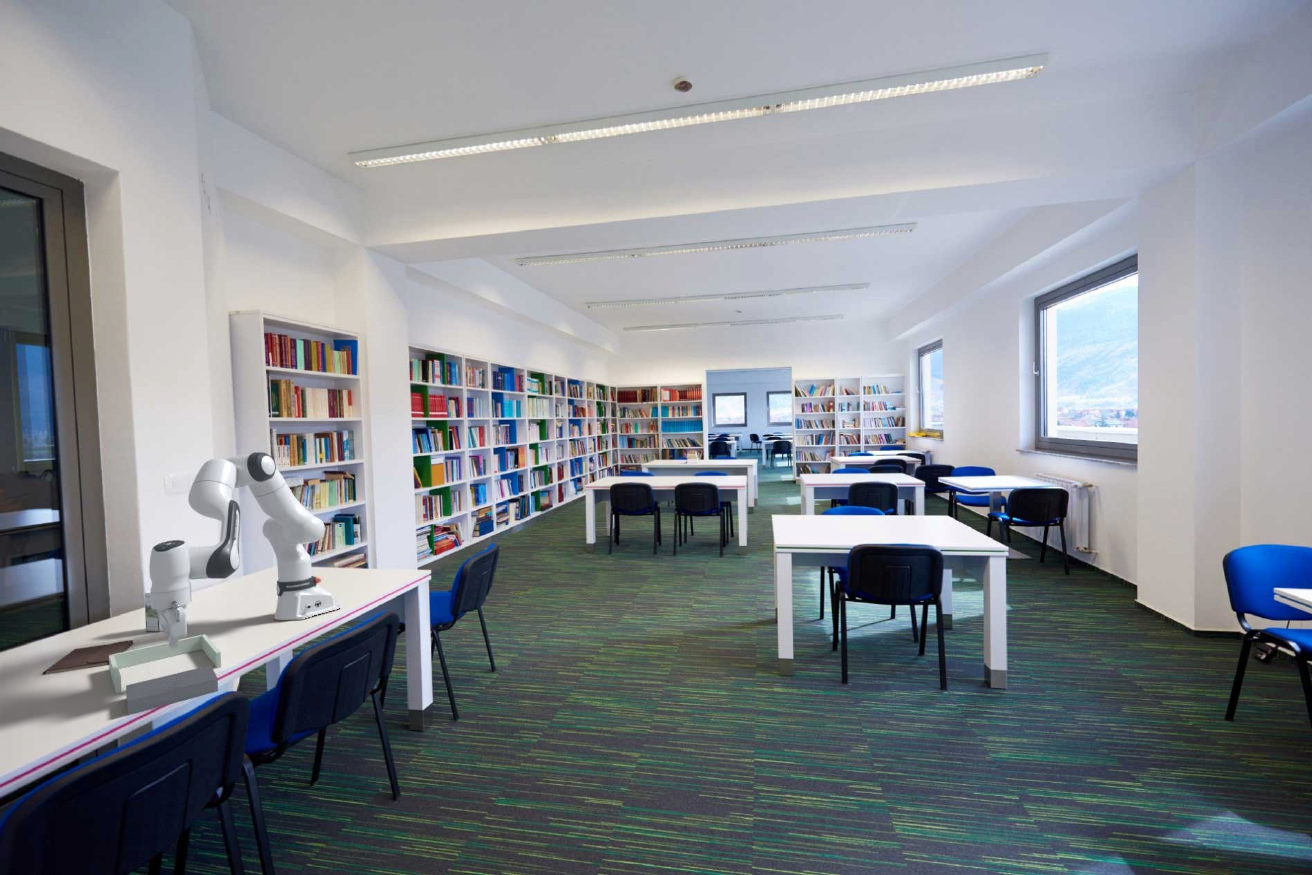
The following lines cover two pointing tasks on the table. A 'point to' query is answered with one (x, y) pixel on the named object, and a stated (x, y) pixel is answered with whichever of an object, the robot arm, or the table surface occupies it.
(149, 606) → the syrup box
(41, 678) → the table surface
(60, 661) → the notebook
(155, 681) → the cover plate
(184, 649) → the sage box
